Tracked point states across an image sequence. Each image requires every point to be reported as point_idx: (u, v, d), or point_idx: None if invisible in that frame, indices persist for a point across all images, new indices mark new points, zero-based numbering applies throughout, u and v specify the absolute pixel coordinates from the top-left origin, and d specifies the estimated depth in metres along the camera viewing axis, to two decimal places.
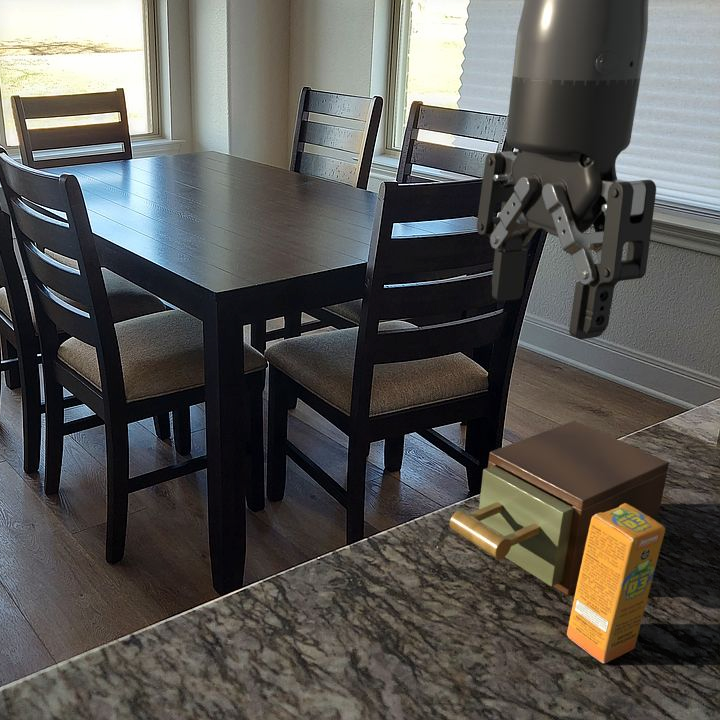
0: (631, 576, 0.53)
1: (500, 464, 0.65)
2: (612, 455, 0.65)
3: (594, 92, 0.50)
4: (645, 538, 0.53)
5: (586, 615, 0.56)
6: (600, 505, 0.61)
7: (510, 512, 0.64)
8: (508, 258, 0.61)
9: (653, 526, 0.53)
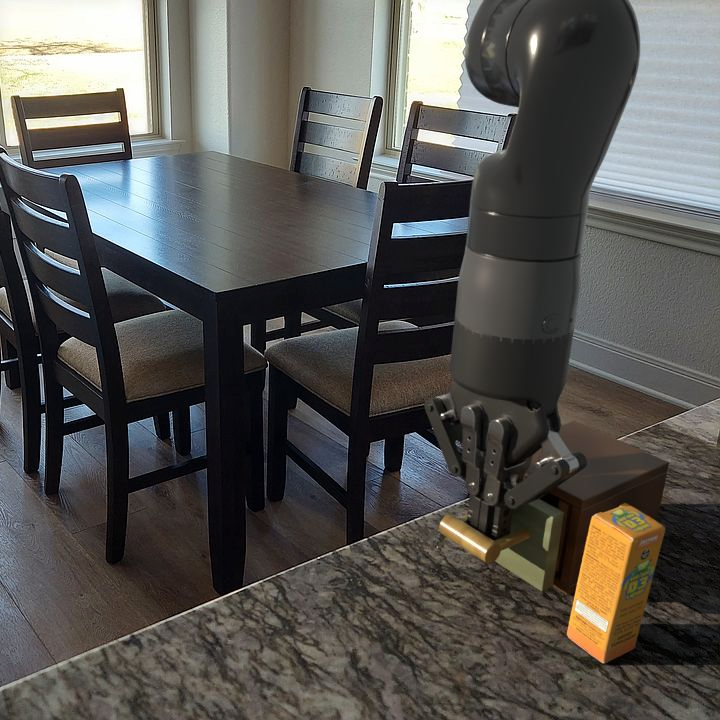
0: (631, 576, 0.53)
1: None
2: (612, 455, 0.65)
3: (541, 349, 0.53)
4: (645, 538, 0.53)
5: (586, 615, 0.56)
6: (600, 505, 0.61)
7: None
8: None
9: (653, 526, 0.53)
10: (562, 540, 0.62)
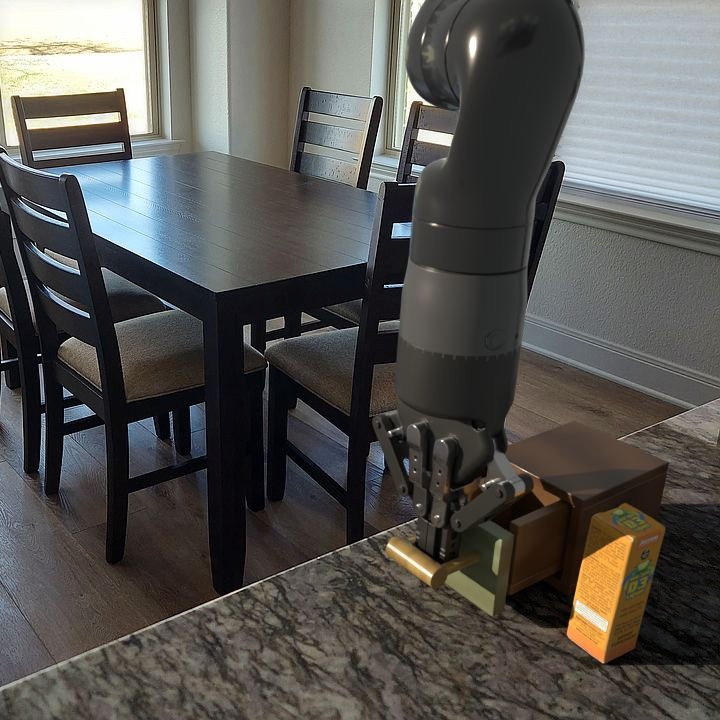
0: (631, 576, 0.53)
1: None
2: (612, 455, 0.65)
3: (485, 366, 0.50)
4: (645, 538, 0.53)
5: (586, 615, 0.56)
6: (600, 505, 0.61)
7: None
8: None
9: (653, 526, 0.53)
10: (514, 563, 0.60)
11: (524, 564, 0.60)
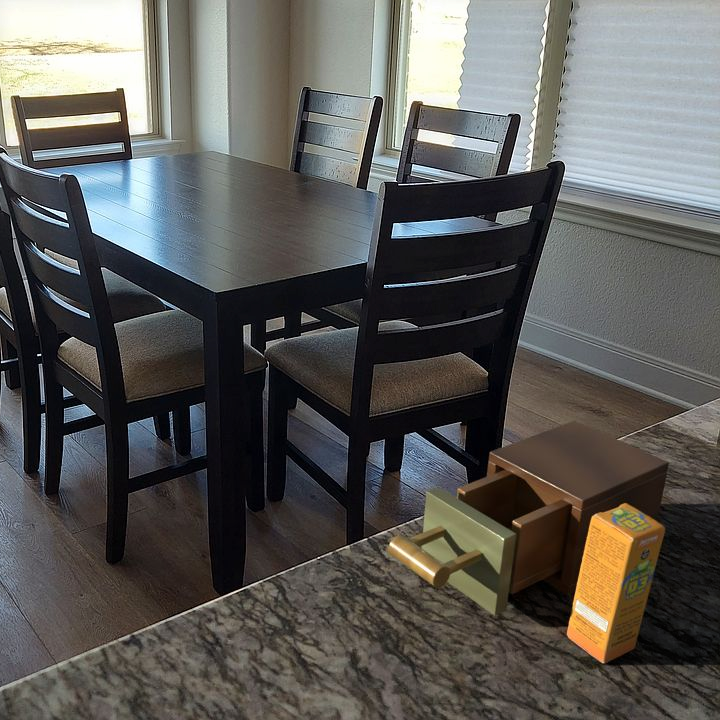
0: (631, 576, 0.53)
1: (500, 464, 0.65)
2: (612, 455, 0.65)
3: None
4: (645, 538, 0.53)
5: (586, 615, 0.56)
6: (600, 505, 0.61)
7: (453, 537, 0.61)
8: None
9: (653, 526, 0.53)
10: (516, 562, 0.60)
11: (527, 563, 0.60)
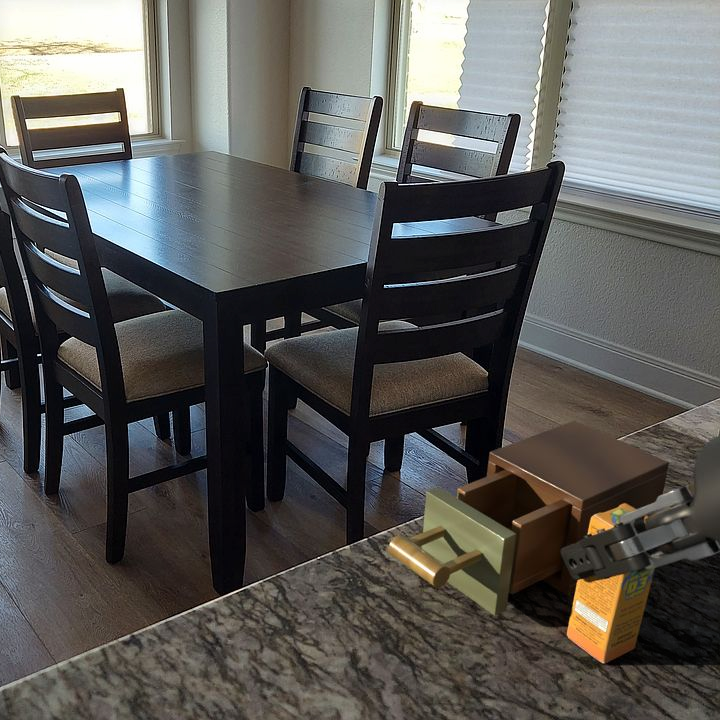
0: (630, 576, 0.53)
1: (500, 464, 0.65)
2: (612, 455, 0.65)
3: None
4: None
5: (586, 615, 0.56)
6: (600, 505, 0.61)
7: (453, 537, 0.61)
8: None
9: None
10: (516, 562, 0.60)
11: (527, 563, 0.60)
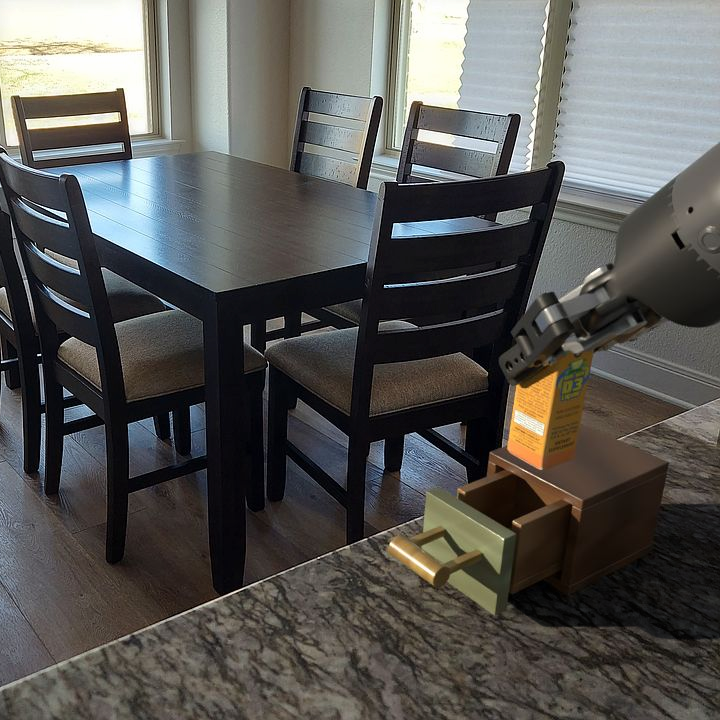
0: (565, 374, 0.54)
1: (500, 464, 0.65)
2: (612, 455, 0.65)
3: None
4: None
5: (524, 423, 0.57)
6: (600, 505, 0.61)
7: (453, 537, 0.61)
8: None
9: None
10: (516, 562, 0.60)
11: (527, 563, 0.60)
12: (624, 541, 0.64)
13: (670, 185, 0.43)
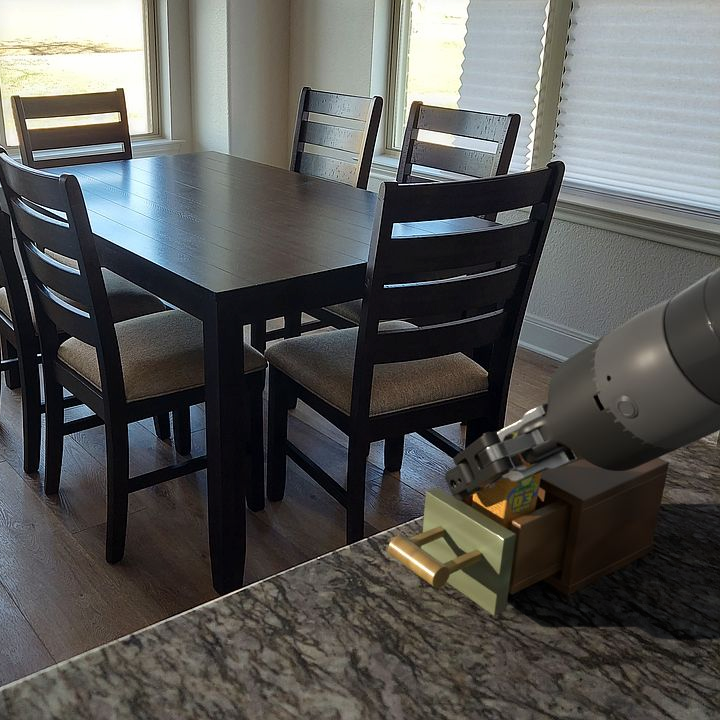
0: (515, 491, 0.59)
1: None
2: None
3: None
4: None
5: None
6: (600, 505, 0.61)
7: (453, 537, 0.61)
8: None
9: None
10: (516, 562, 0.60)
11: (526, 563, 0.60)
12: (624, 541, 0.64)
13: (594, 349, 0.49)
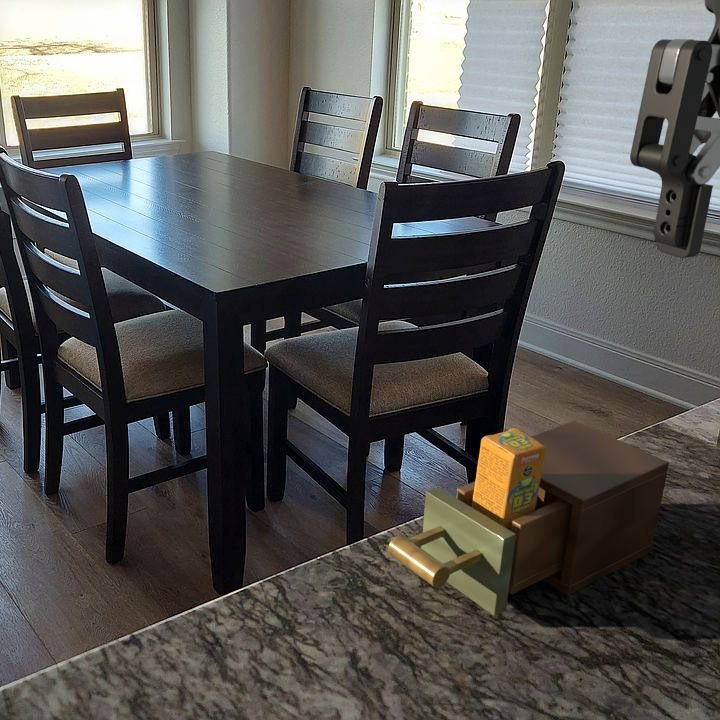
0: (515, 491, 0.59)
1: None
2: (612, 455, 0.65)
3: None
4: (527, 456, 0.58)
5: None
6: (600, 505, 0.61)
7: (453, 537, 0.61)
8: None
9: (535, 446, 0.59)
10: (516, 562, 0.60)
11: (526, 563, 0.60)
12: (624, 541, 0.64)
13: None
